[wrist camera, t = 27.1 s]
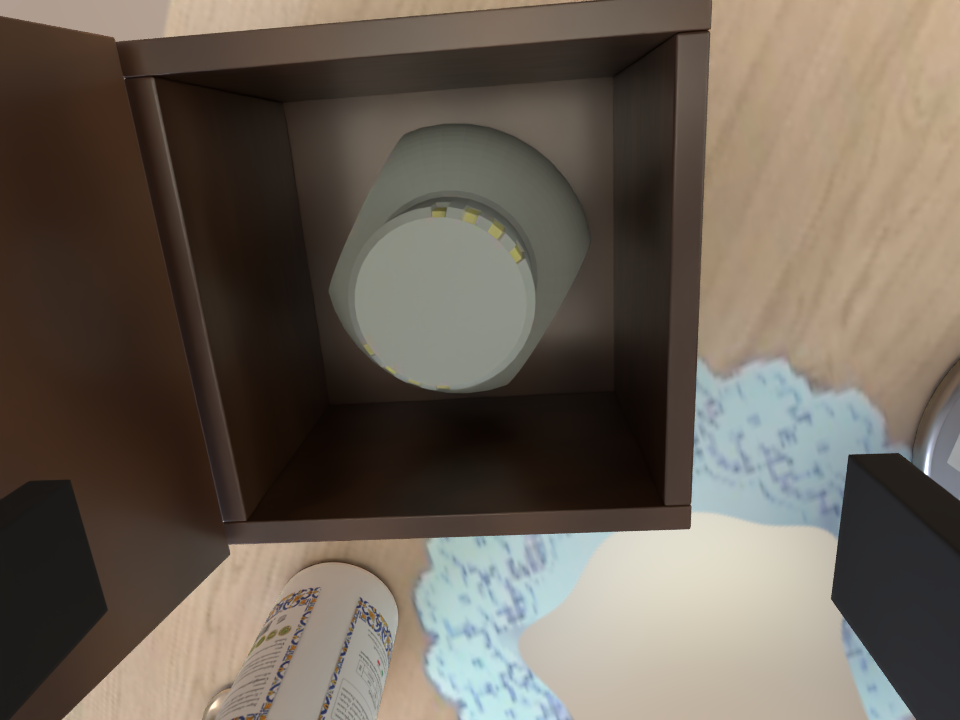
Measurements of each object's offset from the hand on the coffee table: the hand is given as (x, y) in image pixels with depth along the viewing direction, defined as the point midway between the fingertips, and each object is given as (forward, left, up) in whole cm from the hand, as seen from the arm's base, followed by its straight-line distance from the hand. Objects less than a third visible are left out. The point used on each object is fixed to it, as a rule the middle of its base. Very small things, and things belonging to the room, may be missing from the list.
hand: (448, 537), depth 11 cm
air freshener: (+1, -2, -20) cm, 20 cm away
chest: (+1, -2, -21) cm, 21 cm away
